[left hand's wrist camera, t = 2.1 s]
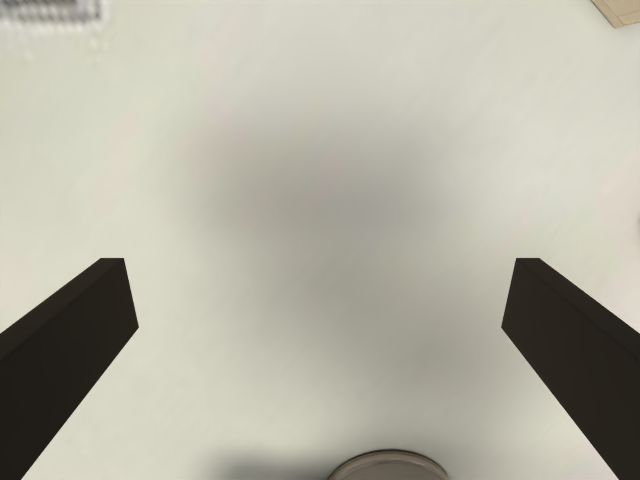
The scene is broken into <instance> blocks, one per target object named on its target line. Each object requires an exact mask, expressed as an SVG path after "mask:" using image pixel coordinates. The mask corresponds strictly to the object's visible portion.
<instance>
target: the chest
mask: <svg viewBox="0 0 640 480" xmlns="http://www.w3.org/2000/svg"><path fill="white" fill-rule="evenodd" d="M592 2H593V3H594V4H595V5H596V6H597V7H598V9H599V10H600V11H601V12H602V13H603V15H604V16H605V17H606V18H607V19H608V20H609V22H610V23H611V24H612V25H613V26H614V27H615V28H616V27H621V26H624V25H629V24H634V23H639V22H640V0H592Z"/></svg>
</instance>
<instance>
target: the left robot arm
mask: <svg viewBox="0 0 640 480" xmlns="http://www.w3.org/2000/svg"><path fill="white" fill-rule="evenodd" d="M138 328H139V326H138V321H137V317H136V312H135V307H134V303H133V298H132V294H131V289H130V284H129V280H128V275H127V271H126V266H125V261H124V258H100V259H99V260H98V261H96V262H95V263H94V264H92V265H91V266H90V267H88V268H87V269H86V270H84V271H83V272H82V273H80V274H79V275H78V276H76V277H75V278H74V279H72V280H71V281H70V282H68V283H67V284H66V285H64V286H63V287H62V288H60V289H59V290H58V291H56V292H55V293H54V294H52V295H51V296H50V297H48V298H47V299H46V300H44V301H43V302H42V303H40V304H39V305H38V306H36V307H35V308H34V309H32V310H31V311H30V312H28V313H27V314H26V315H24V316H23V317H22V318H20V319H19V320H18V321H16V322H15V323H14V324H12V325H11V326H10V327H9V328H7V329H6V330H5V331H3V332H2V333H1V334H0V480H21V479H22V478H23V476H24V475H25V474H26V472H27V471H28V470H29V469H30V467H31V466H32V465H33V463H34V462H35V461H36V460H37V458H38V457H39V456H40V454H41V453H42V452H43V451H44V449H45V448H46V447H47V445H48V444H49V443H50V441H51V440H52V439H53V438H54V436H55V435H56V434H57V432H58V431H59V430H60V429H61V427H62V426H63V425H64V423H65V422H66V421H67V420H68V418H69V417H70V416H71V414H72V413H73V412H74V410H75V409H76V408H77V407H78V405H79V404H80V403H81V401H82V400H83V399H84V398H85V396H86V395H87V394H88V392H89V391H90V390H91V389H92V387H93V386H94V385H95V383H96V382H97V381H98V379H99V378H100V377H101V376H102V374H103V373H104V372H105V370H106V369H107V368H108V367H109V365H110V364H111V363H112V361H113V360H114V359H115V358H116V356H117V355H118V354H119V352H120V351H121V350H122V348H123V347H124V346H125V345H126V343H127V342H128V341H129V339H130V338H131V337H132V336H133V334H134V333H135V332H136V330H137V329H138ZM501 328H502V329H503V330H504V332H505V333H506V334H507V336H508V337H509V338H510V339H511V341H512V342H513V343H514V345H515V346H516V347H517V348H518V350H519V351H520V352H521V354H522V355H523V356H524V358H525V359H526V360H527V361H528V363H529V364H530V365H531V367H532V368H533V369H534V370H535V372H536V373H537V374H538V376H539V377H540V378H541V379H542V381H543V382H544V383H545V385H546V386H547V387H548V389H549V390H550V391H551V392H552V394H553V395H554V396H555V398H556V399H557V400H558V401H559V403H560V404H561V405H562V407H563V408H564V409H565V410H566V412H567V413H568V414H569V416H570V417H571V418H572V420H573V421H574V422H575V423H576V425H577V426H578V427H579V429H580V430H581V431H582V432H583V434H584V435H585V436H586V438H587V439H588V440H589V441H590V443H591V444H592V445H593V447H594V448H595V449H596V451H597V452H598V453H599V454H600V456H601V457H602V458H603V460H604V461H605V462H606V463H607V465H608V466H609V467H610V469H611V470H612V471H613V472H614V474H615V475H616V476H617V478H618V479H619V480H640V334H639V333H638V332H637V331H635V330H634V329H633V328H631V327H630V326H629V325H628V324H626V323H625V322H624V321H622V320H621V319H620V318H618V317H617V316H616V315H614V314H613V313H612V312H610V311H609V310H608V309H606V308H605V307H604V306H602V305H601V304H600V303H598V302H597V301H596V300H594V299H593V298H592V297H590V296H589V295H588V294H586V293H585V292H584V291H582V290H581V289H580V288H578V287H577V286H576V285H574V284H573V283H572V282H570V281H569V280H568V279H566V278H565V277H564V276H562V275H561V274H560V273H558V272H557V271H556V270H554V269H553V268H552V267H550V266H549V265H548V264H546V263H545V262H544V261H542V260H541V259H540V258H516V261H515V266H514V271H513V275H512V280H511V284H510V289H509V294H508V298H507V303H506V307H505V312H504V317H503V321H502V326H501ZM328 480H449V478H448V476H447V474H446V473H445V472H444V471H443V469H442V468H441V467H439V466H438V465H437V464H436V463H434V462H433V461H431V460H429V459H427V458H425V457H422V456H420V455H416V454H413V453H408V452H401V451H382V452H375V453H370V454H366V455H363V456H359V457H357V458H354V459H352V460H350V461H348V462H346V463H345V464H343V465H342V466H340V467H339V468H338V469H337V470H336V471H334V472H333V474H332V475H331V476H330V477H329V479H328Z"/></svg>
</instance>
